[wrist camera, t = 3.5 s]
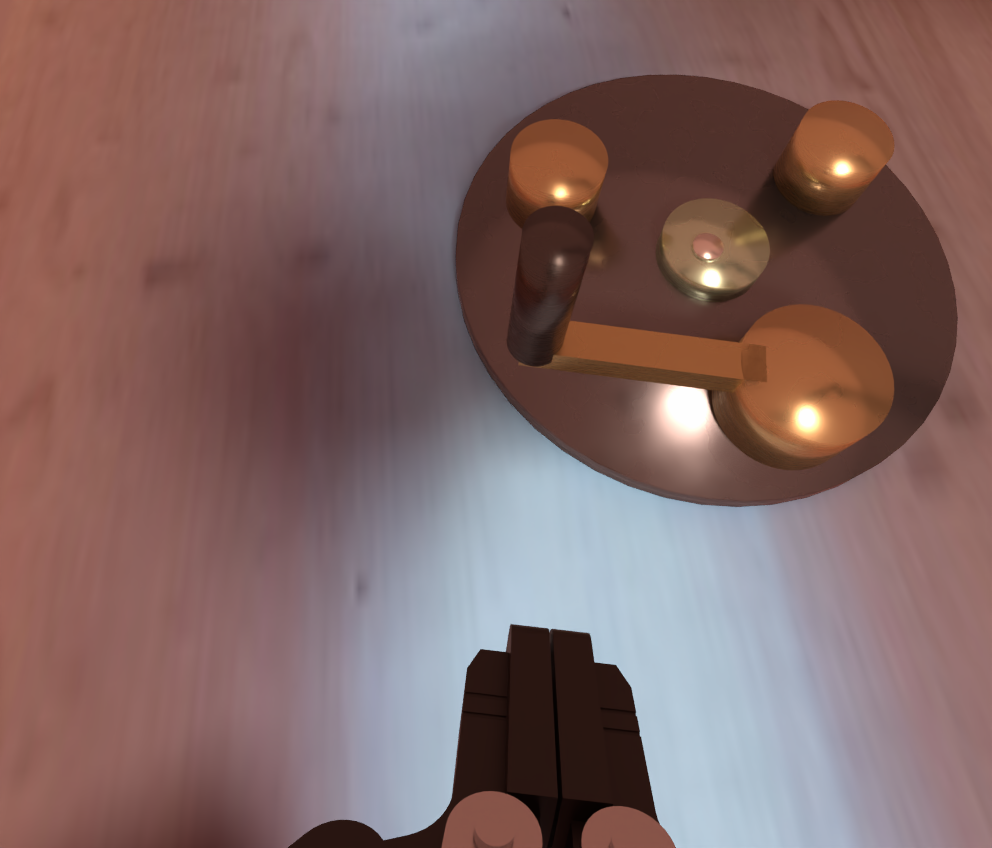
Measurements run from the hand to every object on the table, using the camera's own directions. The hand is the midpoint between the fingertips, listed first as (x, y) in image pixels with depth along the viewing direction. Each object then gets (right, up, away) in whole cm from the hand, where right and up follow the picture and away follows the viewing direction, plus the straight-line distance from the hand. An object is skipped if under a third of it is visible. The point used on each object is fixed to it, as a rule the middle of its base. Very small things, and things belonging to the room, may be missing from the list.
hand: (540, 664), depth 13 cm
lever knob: (+7, +6, +16) cm, 19 cm away
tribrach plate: (+9, +12, +20) cm, 25 cm away
